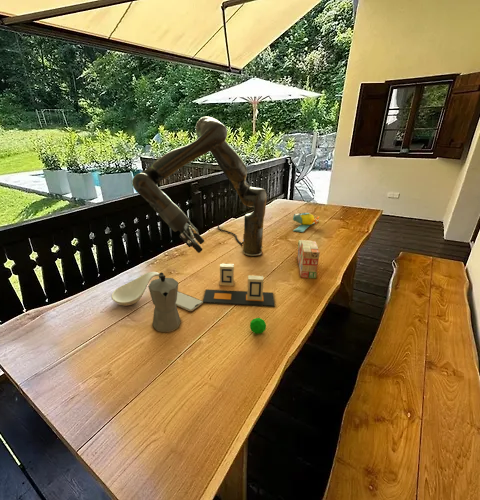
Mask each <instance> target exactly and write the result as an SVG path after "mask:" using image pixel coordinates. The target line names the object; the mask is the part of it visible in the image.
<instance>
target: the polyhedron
mask: <svg viewBox="0 0 480 500" xmlns="http://www.w3.org/2000/svg"><path fill="white" fill-rule="evenodd" d="M249 329H250V330H251V332H252V333H254V334H255V335H259V334H263V333H264V332H265V331H266V329H267V324H266V321H265V320H264V319H263V318H261V317H256V318H255V317H254V318H252V320H251V321H250V322H249Z"/></svg>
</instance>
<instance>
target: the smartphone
mask: <svg viewBox="0 0 480 500" xmlns="http://www.w3.org/2000/svg"><path fill="white" fill-rule="evenodd" d="M175 304H176V306H177V307H178V308H182V309H183V310H186V311H188V312H193V311H194V310H196V309H197V308H199V307H200V306H201V305H202V304H204V303H203V300H202V299H199V298H197V297H193V296H192V295H189V294H186V293H183V292H180V291H179V290H178V291H177V301H176V303H175Z"/></svg>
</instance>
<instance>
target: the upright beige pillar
mask: <svg viewBox="0 0 480 500" xmlns="http://www.w3.org/2000/svg"><path fill="white" fill-rule="evenodd" d="M246 291H247V299H250V300H262V297H263V292H264V275H249V274H248V275H247V290H246Z"/></svg>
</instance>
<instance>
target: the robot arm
mask: <svg viewBox="0 0 480 500" xmlns="http://www.w3.org/2000/svg"><path fill="white" fill-rule="evenodd" d="M195 134H196V137H197V139H195V140H194V141H192V142H191V143H188V144H186V145H183V146H180V147H177V148H175V149H172V150H170V151H168V152H166V153H165V154H163V155H162V156H160V157H159V158H158V159H156V160H155V161H154V162H153V163H152V164H151V165H150V166H149V167H147V168H146V169H144V170H143V171H141V172H139V173H136V174H135V175H134V176H133V177H132V180H131V181H132V182H131V184H132V187H133V189H134V191H136V193H137V194H138V195H139V196H141V197H142V198H143V200H145V201H146V202H147V203H148V204H149V206H150V207H151V208H152V209H153V210H154V211H155V212H156V213H157V215H159V217H160V218H161V220H163V221H164V223H165V224H166V225H167V226H168V227H169V228H170V229H171V230H172V231H173V232H175V233H176V232H179V233H180V234H179V235H178V236H179V238H180V239H181V240H182V241H183V242H184V244H186V246H187V247H188V248H191V247H192V248H193V249H194V251H196V252H197V254H199V253H201V252H202V251H203V247H202V246H201V245H203V244H204V243H205V239H204V238H203V237H202V236H201V235H200V234H199V229H198V228H197V227H195V225H194V224H193V223H192V222H191V221H190V219H189V217H188V216H187V215H186V213H185V212H184V211H183V210H182V209H181V208H180V207H179V206H178V205H177V204H176V203H174V202H173V201H172V200H171V198H170V197H169V196H168V195H167V194H166V193H165V192H164V191H163V190H162V189H161V188H160V187H159V186H158V184H159V183H161V182H162V181H164V180H166V179H168V178H169V177H170V176H171V175H173V174H174V173H175V172H177V171H178V170H180V169H182V168H183V167H184V166H186V165H187V164H189V163H191V162H193V161H194V160H196V159H199V158H200V157H201V156H202V157H203V156H204V155H206V154H207V153H211V155H212V156H213V158H214V160H215V162H216V163H217V165H218V167H219V168H220V170H221V171H222V173H223V174H224V176H225V177H226V178H227V180H228V181H229V182H230V184H231V185H232V187H233V189H234V190H235V192H236V194H237V196H238V197H239V199H240V202H241V203H242V204H243V205H244V206H246V207H249V208H253V211H252V212H248V213H246V214H245V215H244V217H243V218H244V220H243V221H244V223H243V239H242V241H240V240H239V239H238V236H237V234H235V233H234V232H232V231H229V230H227V229H226V230H225V229H223V228H220V225H219V224H218V225H217V229H218V230H219V231H221V232H225V233H228V234H230V235H233V236H234V237H235V240H236V242H237V243H238V244H239V245H242V252H243V254H244V256H247V257H253V258H254V257H260V256H262V255H263V248H264V246H263V235H264V220H265V215H266V208H267V198H268V196H267V194H268V193H267V191H266V189H264V188H261V187H255V186H251V185H249V183H248V182H247V177H248V168H247V165H246V164H245V162H244V161H243V159H242V157H241V156H240V155H239V153H238V152H237V151H236V150H235V149H234V148H233V147H231V145H230V144H229V143H228V142H227V136H228V129H227V127H226V125H225V124H224V123H222V122H220V121H219V120H218V119H216V118H214V117H211V116H202V117H200V118H199V119H198V120H197V121H196V124H195Z"/></svg>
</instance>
